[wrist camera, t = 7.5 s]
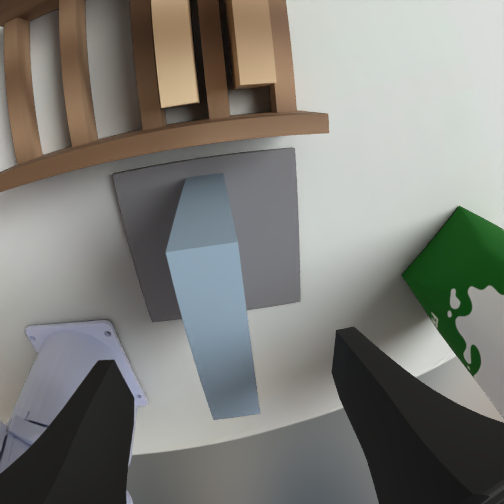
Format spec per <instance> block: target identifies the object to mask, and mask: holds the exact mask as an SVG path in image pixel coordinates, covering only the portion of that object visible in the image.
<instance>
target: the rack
mask: <svg viewBox="0 0 504 504" xmlns="http://www.w3.org/2000/svg"><path fill="white" fill-rule="evenodd" d="M197 2H198V14H199V24H200V35H201V45H202V55H203V65H204V74H205V83H206V93H207V102H208V110H209V118H207V119H200V120H193V121H187V122H180V123H174V124H169V125H166V117H165V109H164V108H161V101H160V93H159V85H158V76H157V66H156V57H155V46H154V35H153V22H152V8H151V0H130V12H131V28H132V41H133V53H134V63H135V73H136V82H137V91H138V99H139V106H140V114H141V121H142V128H143V129H142V130H137V131H132V132H128V133H123V134H119V135H114V136H110V137H106V138H102V139H98V136H97V130H96V123H95V116H94V109H93V102H92V94H91V86H90V76H89V66H88V54H87V40H86V18H85V0H0V26H1V27H4V65H5V81H6V93H7V103H8V111H9V119H10V125H11V132H12V138H13V144H14V149H15V154H16V159H17V164H18V165H15V166H13V167H11V168H9V169H6V170H4V171H2V172H0V192H3V191H5V190H8V189H11V188H15V187H18V186H21V185H24V184H27V183H30V182H34V181H37V180H40V179H44V178H47V177H51V176H54V175H58V174H62V173H65V172H69V171H73V170H77V169H81V168H85V167H89V166H93V165H97V164H101V163H106V162H110V161H115V160H119V159H124V158H129V157H134V156H139V155H144V154H149V153H154V152H160V151H166V150H171V149H177V148H184V147H190V146H197V145H204V144H211V143H218V142H226V141H235V140H243V139H253V138H263V137H274V136H287V135H302V134H320V133H329V120H328V114H326V113H317V112H308V111H298V110H297V108H296V95H295V83H294V72H293V61H292V51H291V41H290V32H289V23H288V15H287V6H286V0H268V4H269V13H270V22H271V31H272V40H273V50H274V60H275V70H276V80H277V83H274V84H271V85H269V91H270V102H271V112H263V113H251V114H241V115H231V116H230V110H229V101H228V91H227V81H226V72H225V62H224V52H223V42H222V33H221V23H220V13H219V3H218V0H197ZM56 9H59V35H60V55H61V68H62V79H63V89H64V97H65V105H66V112H67V119H68V126H69V132H70V138H71V143H72V147H68V148H65V149H61V150H58V151H55V152H51V153H48V154H45V155H43V154H42V149H41V144H40V138H39V132H38V126H37V119H36V112H35V105H34V96H33V87H32V76H31V61H30V30H29V23H30V21H31V20H33V19H36V18H38V17H40V16H42V15H44V14H47V13H49V12H51V11H54V10H56Z"/></svg>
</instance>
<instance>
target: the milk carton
mask: <svg viewBox="0 0 504 504" xmlns="http://www.w3.org/2000/svg"><path fill="white" fill-rule="evenodd" d="M402 277H403V278H404V280H405V281H406V283H407V284H408V286H409V287H410V289H411V290H412V291H413V293H414V294H415V296H416V298H417V299H418V301H419V302H420V304H421V305H422V307H423V308H424V310H425V311H426V313H427V314H428V316H429V318H430V319H431V321H432V322H433V324H434V325H435V327H436V329H437V330H438V331H439V333H440V334H441V336H442V337H443V338H444V339H445V341H446V342H447V343H448V345H449V346H450V348H451V349H452V350H453V352H454V353H455V354H456V356H457V357H458V358H459V359H460V361H461V362H462V363H463V364H464V366H465V367H466V368H467V370H468V371H469V372H470V374H471V375H472V376H473V378H474V379H475V380H476V382H477V383H478V384H479V385H480V387H481V388H482V389H483V391H484V392H485V394H486V395H487V396H488V398H489V399H490V401H491V402H492V403H493V405H494V406H495V408H496V409H497V410H498V412H499V413H500V415H501V416H502V417H503V418H504V229H502V228H500V227H498V226H497V225H495V224H493V223H491V222H489V221H487V220H486V219H484V218H482V217H480V216H478V215H476V214H474V213H472V212H470V211H468V210H466V209H464V208H463V207H461V206H459V207H458V208H457V210H456V211H455V212H454V213H453V215H452V216H451V217H450V219H449V220H448V221H447V222H446V224H445V225H444V226H443V227H442V229H441V230H440V231H439V232H438V233H437V235H436V236H435V237H434V238H433V239H432V241H431V242H430V243H429V244H428V245H427V247H426V248H425V249H424V250H423V251H422V252H421V254H420V255H419V256H418V257H417V258H416V259H415V260H414V262H413V263H412V264H411V265H410V266H409V267H408V268H407V269H406V271H405V272H404V273H403V274H402Z"/></svg>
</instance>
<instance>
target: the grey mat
mask: <svg viewBox="0 0 504 504" xmlns="http://www.w3.org/2000/svg"><path fill="white" fill-rule="evenodd" d="M216 173H223V174H224V179H225V184H226V188H227V193H228V198H229V203H230V207H231V212H232V216H233V221H234V226H235V230H236V235H237V240H238V246H239V254H240V262H241V270H242V278H243V286H244V294H245V302H246V310H251V309H258V308H264V307H271V306H277V305H283V304H289V303H295V302H300V253H299V221H298V197H297V177H296V159H295V148H282V149H271V150H261V151H251V152H242V153H234V154H226V155H218V156H210V157H203V158H196V159H190V160H183V161H177V162H171V163H165V164H159V165H154V166H148V167H143V168H138V169H133V170H128V171H123V172H118V173H114V174H113V180H114V184H115V189H116V194H117V198H118V203H119V207H120V211H121V215H122V220H123V224H124V228H125V232H126V236H127V239H128V243H129V247H130V251H131V254H132V258H133V262H134V265H135V269H136V272H137V275H138V279H139V282H140V286H141V289H142V292H143V295H144V298H145V302H146V305H147V308H148V311H149V314H150V317H151V320H152V322H159V321H168V320H177V319H182V316H181V312H180V308H179V304H178V300H177V297H176V293H175V289H174V285H173V281H172V277H171V273H170V269H169V264H168V260H167V256H166V249H167V245H168V241H169V237H170V233H171V230H172V226H173V222H174V218H175V215H176V211H177V207H178V204H179V200H180V197H181V193H182V190H183V187H184V183H185V180H186V178H189V177H195V176H202V175H209V174H216Z"/></svg>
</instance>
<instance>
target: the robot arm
mask: <svg viewBox="0 0 504 504" xmlns="http://www.w3.org/2000/svg"><path fill="white" fill-rule="evenodd" d="M106 331H108V332H110V333H107V332H106ZM25 333H26V335H27V337H28V338H29V340H30V342H31V344H32V345H33V347H34V349H35V351H36V352H37V354H38V355H37V357H36V359H35V362H34V364H33V366H32V368H31V370H30V372H29V374H28V376H27V379H26V381H25V383H24V385H23V388H22V390H21V392H20V395H19V397H18V399H17V402H16V404H15V407H14V409H13V411H12V414H11V417H10V419H9V422H8V423H7V424H6V425H5V424H4V423H3V422H1V421H0V504H133V502H132V499H131V497H130V494H129V493H128V491H127V490H126V484H127V472H128V467H129V464H130V461H131V457H132V447H133V438H134V430H135V422H136V414H137V407H138V406H146V405H147V404H148V399H147V397H146V395H145V393H144V392H143V390H142V388H141V386H140V384H139V382H138V380H137V378H136V376H135V373H134V371H133V369H132V367H131V365H130V363H129V361H128V359H127V357H126V354H125V352H124V350H123V348H122V345H121V343H120V341H119V339H118V336H117V334H116V332H115V329H114V327H113V325H112V323H111V322H110V321H108V320H97V321H86V322H73V323H60V324H46V325H31V326H27V327H26V329H25ZM332 375H333V378H334V382H335V385H336V388H337V391H338V395H339V398H340V400H341V402H342V405H343V407H344V409H345V411H346V414H347V416H348V418H349V420H350V422H351V425H352V427H353V429H354V431H355V433H356V435H357V438H358V440H359V442H360V444H361V447H362V449H363V452H364V454H365V457H366V459H367V462H368V466H369V469H370V472H371V476H372V479H373V483H374V486H375V490H376V493H377V498H378V501H379V504H504V423H503V422H500V421H497V420H494V419H491V418H488V417H485V416H483V415H480V414H478V413H476V412H474V411H472V410H470V409H467V408H465V407H463V406H461V405H459V404H457V403H455V402H453V401H452V400H450V399H448V398H446V397H445V396H443V395H441V394H440V393H438V392H436V391H434V390H433V389H431V388H430V387H428V386H427V385H425V384H424V383H422V382H421V381H419V380H418V379H417V378H415V377H414V376H413V375H411V374H410V373H409V372H407V371H406V370H405V369H403V368H402V367H401V366H400V365H398V364H397V363H396V362H395V361H393V360H392V359H391V358H390V357H388V356H387V355H386V354H385V353H384V352H383V351H381V350H380V349H379V348H378V347H377V346H376V345H374V344H373V343H372V342H371V341H370V340H369V339H368V338H366V337H365V336H364V335H363V334H362V333H361V332H359V331H358V330H357V329H356V328H355V327H350V328H345V329H341V330H336V338H335V347H334V357H333V366H332Z"/></svg>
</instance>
